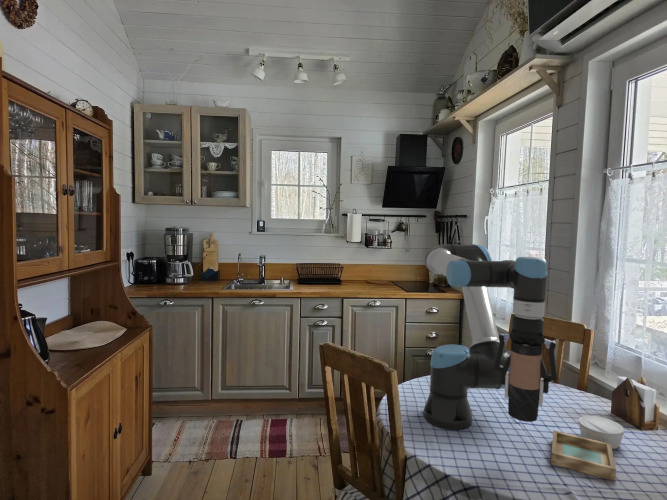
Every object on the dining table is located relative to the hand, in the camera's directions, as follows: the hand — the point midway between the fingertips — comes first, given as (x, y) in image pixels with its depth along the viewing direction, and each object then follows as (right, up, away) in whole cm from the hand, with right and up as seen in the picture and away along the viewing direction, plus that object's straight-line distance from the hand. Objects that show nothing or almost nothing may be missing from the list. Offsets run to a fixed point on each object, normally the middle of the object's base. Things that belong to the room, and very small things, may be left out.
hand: (523, 400), depth 108 cm
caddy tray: (+16, -16, +1) cm, 23 cm away
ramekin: (+28, -16, +11) cm, 34 cm away
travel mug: (0, -4, 0) cm, 4 cm away
